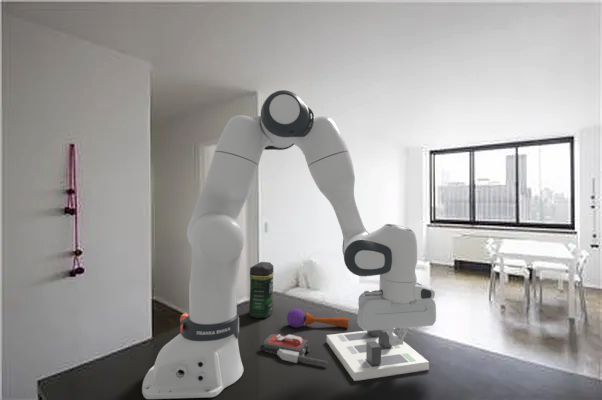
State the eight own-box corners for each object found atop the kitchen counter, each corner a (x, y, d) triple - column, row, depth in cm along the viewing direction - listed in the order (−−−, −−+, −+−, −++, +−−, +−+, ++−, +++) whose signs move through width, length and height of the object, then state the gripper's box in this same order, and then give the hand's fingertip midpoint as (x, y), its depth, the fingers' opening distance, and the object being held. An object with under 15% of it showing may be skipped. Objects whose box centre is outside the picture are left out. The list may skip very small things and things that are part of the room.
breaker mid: (383, 347, 84) (384, 332, 84) (378, 342, 87) (378, 327, 87) (391, 346, 85) (391, 331, 85) (386, 341, 88) (386, 326, 87)
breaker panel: (354, 381, 73) (354, 372, 73) (326, 341, 92) (326, 334, 92) (428, 369, 78) (428, 361, 78) (387, 334, 97) (387, 328, 97)
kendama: (349, 319, 99) (286, 314, 100) (347, 336, 100) (285, 330, 101) (347, 309, 105) (288, 304, 105) (345, 325, 106) (287, 320, 107)
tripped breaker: (371, 364, 76) (372, 347, 75) (366, 358, 78) (366, 342, 78) (380, 363, 76) (381, 346, 76) (375, 357, 79) (375, 341, 79)
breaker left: (371, 336, 91) (371, 322, 91) (367, 331, 94) (367, 318, 94) (379, 335, 91) (379, 321, 91) (374, 331, 94) (374, 317, 94)
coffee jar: (268, 320, 108) (268, 266, 108) (246, 318, 110) (246, 265, 109) (276, 310, 117) (276, 260, 117) (256, 308, 119) (256, 259, 119)
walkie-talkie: (255, 356, 85) (326, 371, 78) (255, 340, 85) (326, 353, 78) (269, 342, 93) (335, 354, 86) (269, 327, 93) (335, 338, 86)
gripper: (364, 295, 73) (362, 354, 73) (440, 291, 77) (439, 346, 78) (353, 287, 79) (352, 342, 79) (425, 284, 84) (423, 335, 84)
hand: (395, 344), depth 78 cm, fingers closed
